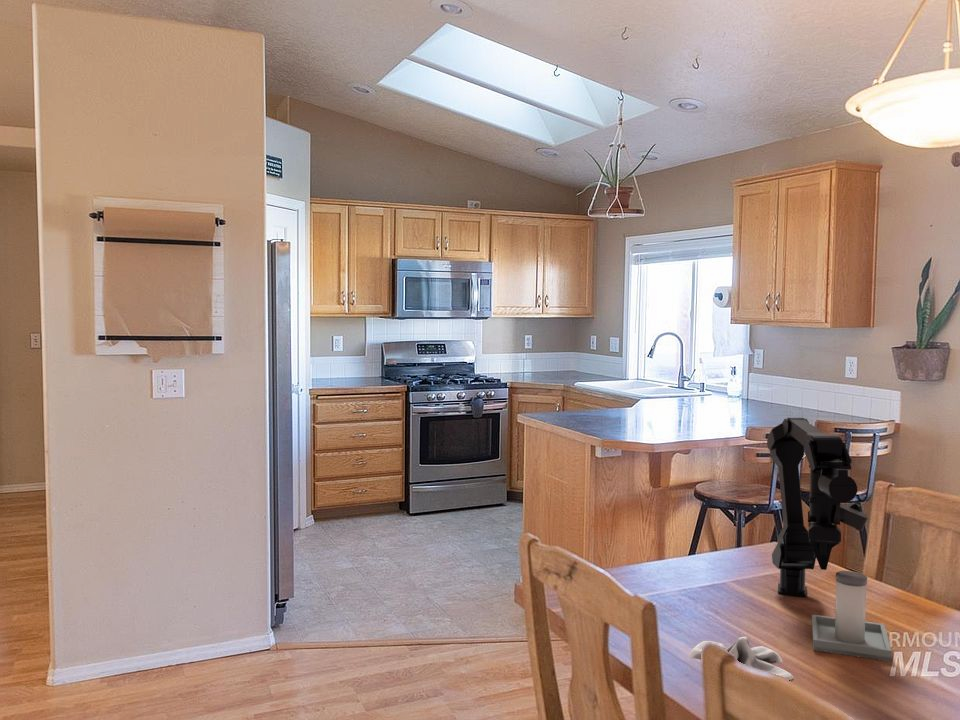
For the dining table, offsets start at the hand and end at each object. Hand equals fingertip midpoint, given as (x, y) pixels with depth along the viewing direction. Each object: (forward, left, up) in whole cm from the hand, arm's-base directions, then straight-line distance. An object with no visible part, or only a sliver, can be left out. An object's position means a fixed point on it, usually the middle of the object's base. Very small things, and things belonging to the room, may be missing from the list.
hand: (822, 563), depth 169 cm
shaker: (+9, +5, -12) cm, 16 cm away
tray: (+9, +5, -13) cm, 17 cm away
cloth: (+29, -15, -14) cm, 36 cm away
